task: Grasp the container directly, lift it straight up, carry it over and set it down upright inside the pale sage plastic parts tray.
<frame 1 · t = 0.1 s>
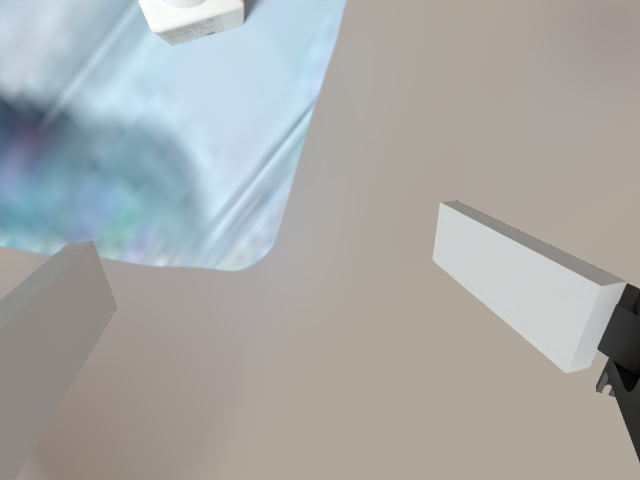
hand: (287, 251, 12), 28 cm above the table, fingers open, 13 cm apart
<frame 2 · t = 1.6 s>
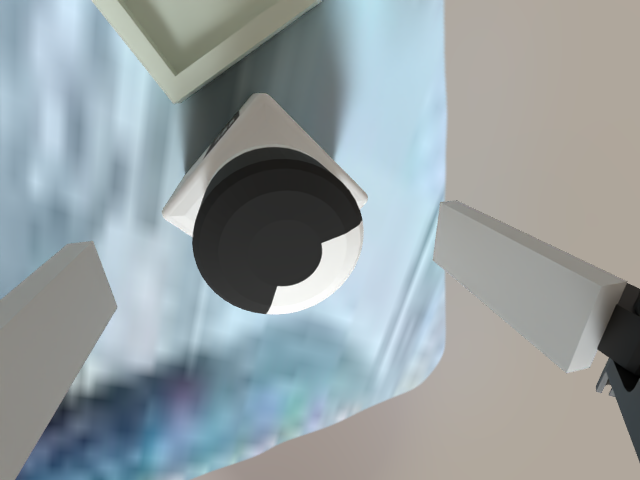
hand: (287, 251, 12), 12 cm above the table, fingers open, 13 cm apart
container: (262, 172, 23), on the table
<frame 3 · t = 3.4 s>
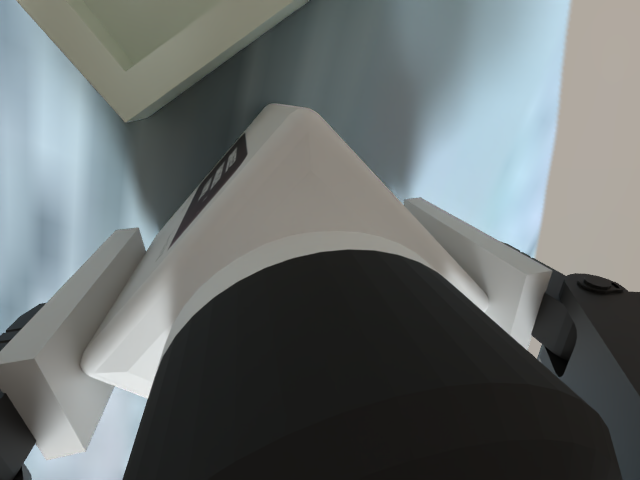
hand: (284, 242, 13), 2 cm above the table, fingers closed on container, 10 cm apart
container: (279, 224, 15), on the table, touching gripper
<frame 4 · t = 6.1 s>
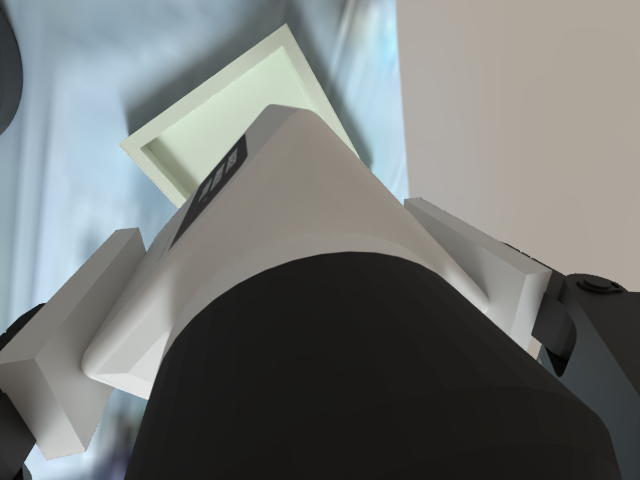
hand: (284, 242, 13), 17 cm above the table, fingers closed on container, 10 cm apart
container: (279, 225, 15), point 15 cm above the table, touching gripper
parts tray: (261, 164, 28), on the table
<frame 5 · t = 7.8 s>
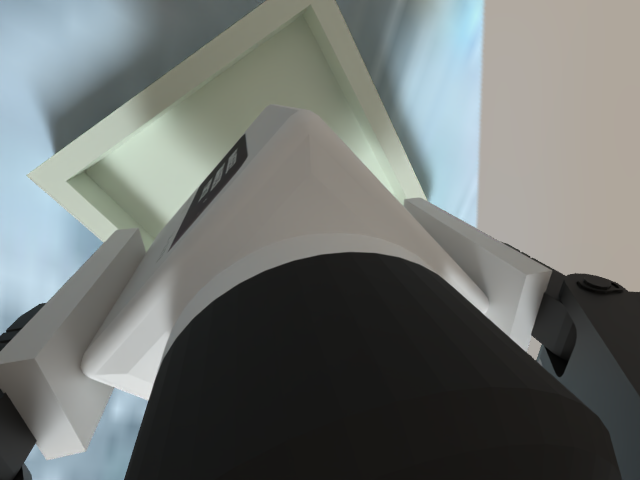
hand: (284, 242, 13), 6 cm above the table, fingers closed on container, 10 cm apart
container: (279, 225, 15), point 4 cm above the table, touching gripper
parts tray: (270, 197, 19), on the table
when the fingers open (4 cm above the table, at t = 9.3 s): container drops 2 cm, resting on parts tray.
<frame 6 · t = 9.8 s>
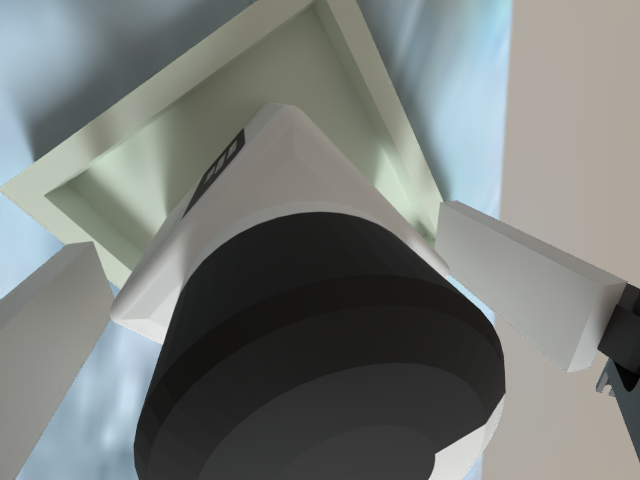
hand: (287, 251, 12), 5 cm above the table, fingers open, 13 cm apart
container: (274, 211, 17), resting on parts tray
parts tray: (274, 209, 17), on the table
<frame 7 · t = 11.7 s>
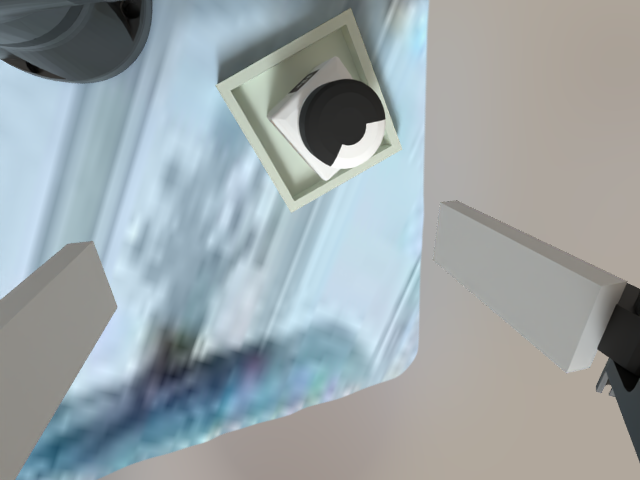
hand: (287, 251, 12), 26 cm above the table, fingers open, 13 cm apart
container: (313, 119, 35), resting on parts tray
parts tray: (313, 119, 36), on the table
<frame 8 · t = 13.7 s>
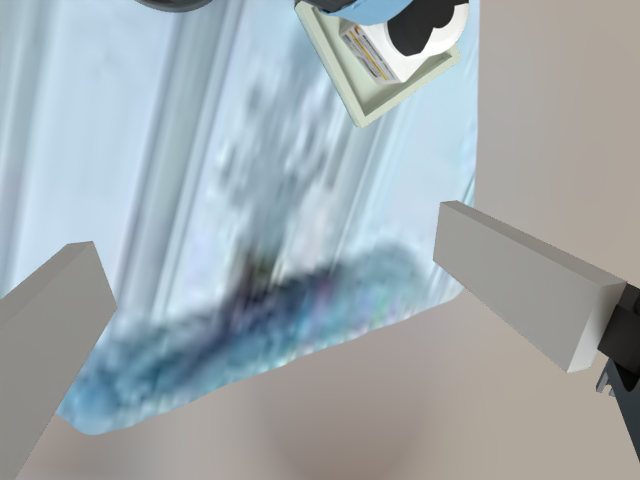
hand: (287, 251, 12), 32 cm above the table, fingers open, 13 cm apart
container: (379, 36, 38), resting on parts tray
parts tray: (378, 37, 39), on the table
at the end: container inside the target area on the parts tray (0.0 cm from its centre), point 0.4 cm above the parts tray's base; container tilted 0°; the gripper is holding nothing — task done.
